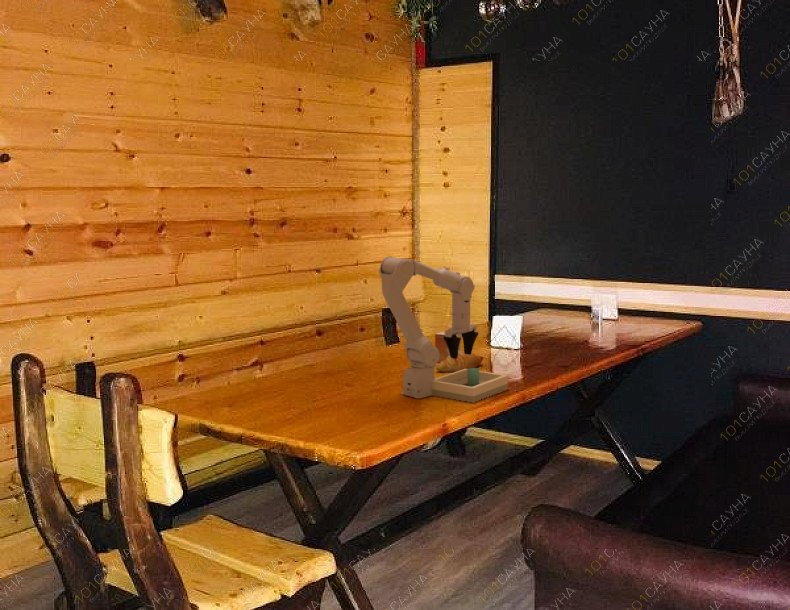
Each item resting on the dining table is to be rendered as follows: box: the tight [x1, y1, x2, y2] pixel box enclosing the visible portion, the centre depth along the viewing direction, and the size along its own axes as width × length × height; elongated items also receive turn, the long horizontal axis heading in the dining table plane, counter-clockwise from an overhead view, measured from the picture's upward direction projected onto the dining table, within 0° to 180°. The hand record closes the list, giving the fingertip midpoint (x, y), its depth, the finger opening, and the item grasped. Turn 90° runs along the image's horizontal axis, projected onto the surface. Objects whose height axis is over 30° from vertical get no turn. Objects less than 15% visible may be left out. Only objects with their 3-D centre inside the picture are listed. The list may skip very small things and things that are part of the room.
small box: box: [434, 331, 462, 363], centre depth 298 cm, size 8×6×10 cm
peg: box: [468, 367, 480, 387], centre depth 256 cm, size 4×4×7 cm
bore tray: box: [432, 369, 509, 404], centre depth 255 cm, size 20×16×4 cm
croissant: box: [435, 349, 484, 373], centre depth 287 cm, size 21×10×8 cm, turn 129°
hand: (460, 356), depth 261 cm, fingers open, 7 cm apart
